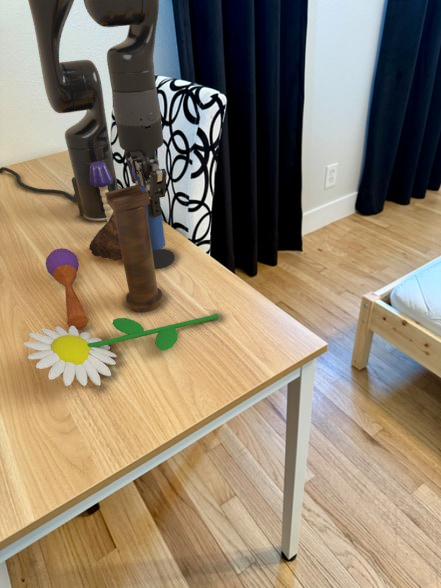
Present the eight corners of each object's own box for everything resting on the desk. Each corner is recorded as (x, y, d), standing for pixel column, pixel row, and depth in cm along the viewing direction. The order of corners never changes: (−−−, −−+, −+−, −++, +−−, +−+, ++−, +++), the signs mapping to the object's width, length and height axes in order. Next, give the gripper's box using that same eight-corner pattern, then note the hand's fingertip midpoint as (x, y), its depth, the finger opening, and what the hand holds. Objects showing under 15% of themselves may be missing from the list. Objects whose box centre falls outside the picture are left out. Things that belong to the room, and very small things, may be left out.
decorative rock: (152, 251, 90) (145, 204, 84) (141, 267, 86) (133, 219, 79) (100, 246, 93) (89, 200, 86) (86, 261, 88) (74, 213, 82)
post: (135, 317, 74) (113, 205, 61) (122, 297, 78) (99, 190, 65) (168, 304, 76) (155, 195, 64) (154, 286, 81) (138, 180, 68)
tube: (168, 246, 85) (151, 251, 84) (160, 239, 88) (144, 244, 87) (161, 189, 78) (143, 194, 77) (153, 183, 81) (135, 187, 79)
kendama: (52, 317, 68) (38, 249, 81) (68, 340, 72) (52, 272, 86) (88, 302, 69) (68, 238, 83) (101, 326, 73) (80, 261, 87)
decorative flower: (200, 307, 79) (23, 345, 66) (202, 286, 76) (18, 322, 63) (232, 353, 70) (36, 408, 57) (237, 331, 67) (31, 384, 54)
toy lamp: (118, 241, 94) (104, 168, 84) (98, 240, 95) (82, 167, 85) (126, 231, 98) (113, 159, 88) (107, 229, 99) (92, 158, 88)
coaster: (134, 265, 86) (134, 264, 86) (150, 248, 92) (149, 246, 91) (166, 271, 84) (165, 269, 84) (180, 253, 90) (180, 251, 89)
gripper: (102, 111, 74) (119, 203, 85) (132, 131, 65) (147, 232, 75) (142, 105, 77) (154, 194, 88) (177, 123, 68) (185, 221, 78)
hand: (151, 211), depth 81 cm, fingers closed on tube, 3 cm apart
